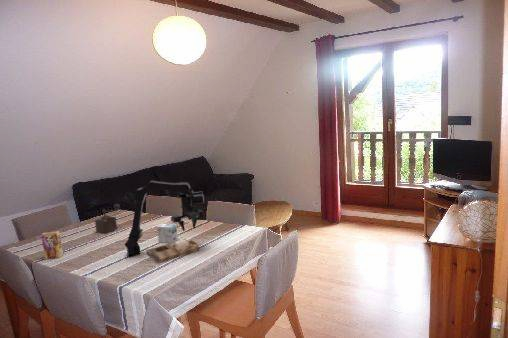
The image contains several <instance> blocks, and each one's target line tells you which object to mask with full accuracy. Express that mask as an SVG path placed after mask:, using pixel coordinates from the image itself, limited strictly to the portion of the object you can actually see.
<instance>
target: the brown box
mask: <svg viewBox="0 0 508 338" xmlns="http://www.w3.org/2000/svg"><path fill="white" fill-rule="evenodd" d="M113 207H114V209H113V210H106V209H105V208H102V212H103V216H101V217H99V218H97V219H94V224H95V230H96V233H98V234H104V235H107V234H110V233H112V232H114V231H116V230H118V226H117V217H116V216H110V215H106V213H109V212H117V211H119V210H120V209H119V208H120V207H121V205H120V204H118V203H115V204H114V205H113Z"/></svg>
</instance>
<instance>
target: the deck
mask: <svg viewBox="0 0 508 338" xmlns="http://www.w3.org/2000/svg"><path fill="white" fill-rule="evenodd" d="M181 240H182V239H181ZM181 240H179V241H181ZM183 240H186V241H188V240H189V239H187V238H185V239H184V238H183ZM175 242H176V241H175ZM175 242H173V243H165V244H162V245H160V246H156V247H152V248H149V249H145V250H146V251H145V252H146V254H147V255H148V257H150V258H152V260H153V261H155V263H157V264H161V263H164V262H167V261H170V260H173V259H177V258H180V257H183V256H187V255H189V254H193V253H197V252H200V247H199V246H198V248H194V249H191V250H188V251H184V252H181V253H180V251H178V250H177V249H176V248H173V244H175ZM191 245H193V244H189V246H191Z"/></svg>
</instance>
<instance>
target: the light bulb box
mask: <svg viewBox="0 0 508 338" xmlns="http://www.w3.org/2000/svg"><path fill="white" fill-rule="evenodd" d="M156 230H157V238H158V243H164V244H170V243H173V242H177V241H179V238H178V237H179V236H178V228H177V223H160V224H159V225H157V226H156Z"/></svg>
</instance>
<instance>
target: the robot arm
mask: <svg viewBox="0 0 508 338" xmlns="http://www.w3.org/2000/svg"><path fill="white" fill-rule="evenodd" d="M152 189H156V190H166V191H173V192H176V193H178V195H177V196H176V198H177V199H180V205H181V206H180V208H181V215H179V214H175V215H171V217H170V221H171V222H173V224H177V223H178V224H179V226H180V228H181V229H182V231H183V232H185V220H184V219H187V218H188V220H190V221H191V222H192V228H193V229H194V230H195V229H196V225H197V222H198V220H199V219H200V217H204V216H205V212H204V211H203V210H201V209H199V208H196V209H194V207H193V205H192V203H193V204H195V205H197V204H205V196H204V193H203V191H202V190H201V191H194V189H192V187H191V184H190V183H189V182H186V181H185V182H182V181H181V182H166V181H158V180H150V181H149V182H148V183H147V184H146V185H145V186H143V187H140V188H137V189H136V190H135V191H134V193H133V197H134V199H133V200H134V203H135V206H134V214H133V220H132V227H131V229H130V232H129V235H128V238H127V240H126V242H125V243H124V246H125V248H126V256H127V257H129V258H131V257H135V256H139V255H141V248H140V245H139V243H138V242H139V241H140V239H141V238H142V237H143V229H144V228H143V229H141V221H142V214H143V207H144V203H145V200H146V197H147V195H148V193H149V192H150V191H151V190H152Z"/></svg>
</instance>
